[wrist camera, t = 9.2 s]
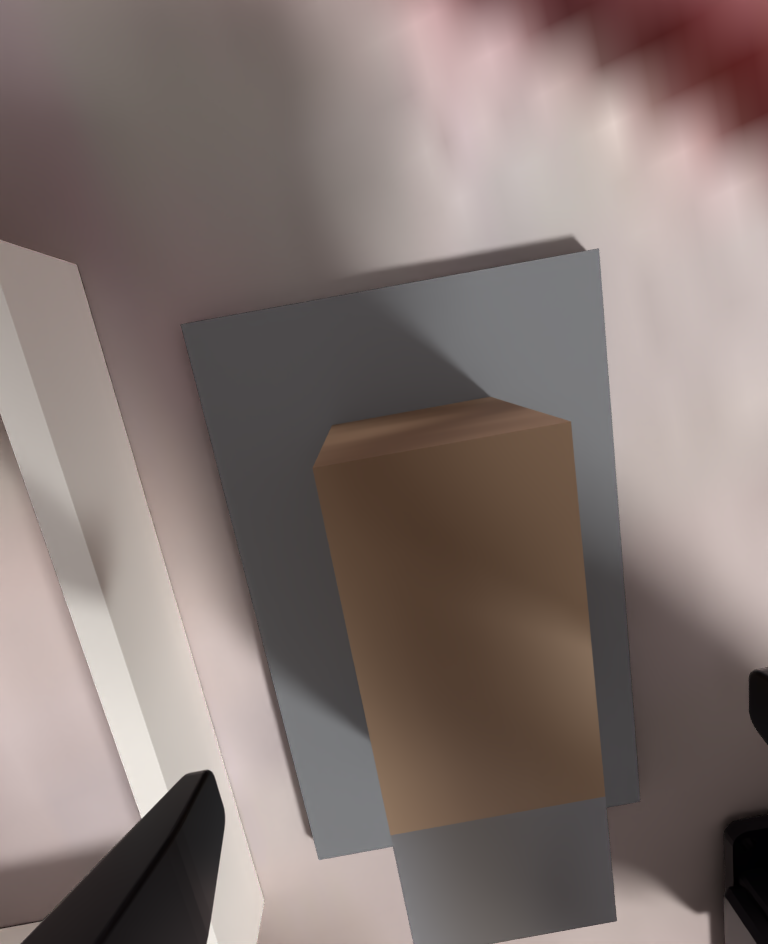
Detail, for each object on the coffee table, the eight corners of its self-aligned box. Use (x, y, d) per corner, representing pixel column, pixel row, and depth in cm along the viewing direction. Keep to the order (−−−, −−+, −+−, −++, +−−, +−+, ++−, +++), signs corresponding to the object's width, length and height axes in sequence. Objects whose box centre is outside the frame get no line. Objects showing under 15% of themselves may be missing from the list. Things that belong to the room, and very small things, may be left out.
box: (490, 396, 13) (571, 421, 8) (533, 735, 15) (616, 921, 10) (332, 425, 13) (312, 468, 8) (399, 760, 15) (416, 957, 10)
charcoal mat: (589, 252, 12) (599, 248, 12) (631, 788, 16) (640, 801, 16) (188, 325, 12) (180, 324, 12) (319, 844, 16) (318, 860, 16)
